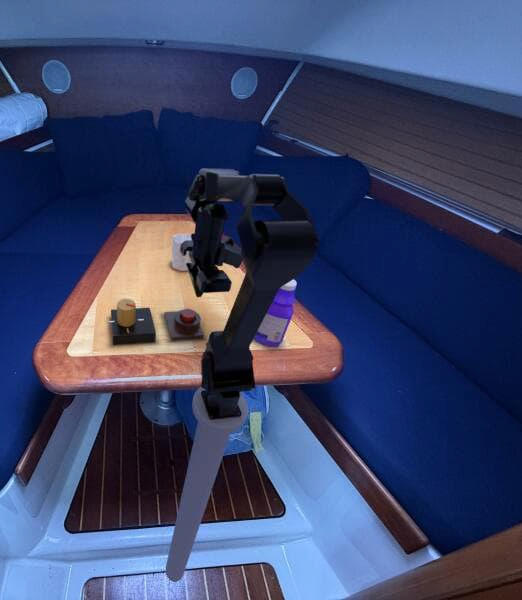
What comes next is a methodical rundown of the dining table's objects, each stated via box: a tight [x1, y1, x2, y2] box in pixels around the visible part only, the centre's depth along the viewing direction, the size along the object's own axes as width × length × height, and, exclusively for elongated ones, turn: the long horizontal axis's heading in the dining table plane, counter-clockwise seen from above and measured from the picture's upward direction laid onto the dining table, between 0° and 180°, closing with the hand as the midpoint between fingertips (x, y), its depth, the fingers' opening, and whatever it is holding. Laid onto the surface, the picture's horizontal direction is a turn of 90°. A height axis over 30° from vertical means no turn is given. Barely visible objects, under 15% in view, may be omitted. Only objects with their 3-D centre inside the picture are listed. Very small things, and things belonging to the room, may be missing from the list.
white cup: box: [171, 233, 192, 272], centre depth 105 cm, size 8×8×10 cm
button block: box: [163, 309, 205, 342], centre depth 81 cm, size 10×8×3 cm
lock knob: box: [116, 298, 137, 327], centre depth 76 cm, size 4×4×5 cm
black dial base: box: [107, 307, 157, 346], centre depth 79 cm, size 10×11×3 cm
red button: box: [181, 308, 197, 323], centre depth 80 cm, size 4×4×2 cm
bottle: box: [253, 279, 298, 348], centre depth 75 cm, size 7×6×17 cm
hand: (198, 296), depth 74 cm, fingers closed
